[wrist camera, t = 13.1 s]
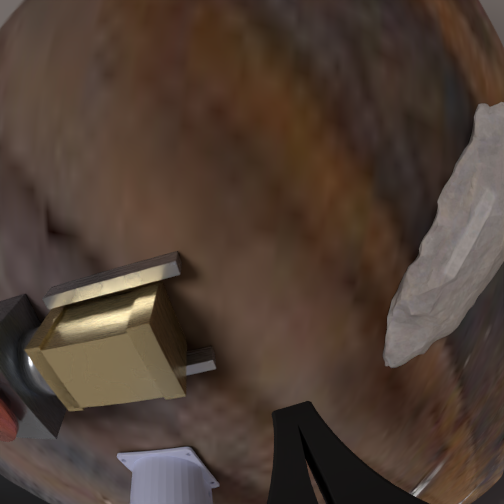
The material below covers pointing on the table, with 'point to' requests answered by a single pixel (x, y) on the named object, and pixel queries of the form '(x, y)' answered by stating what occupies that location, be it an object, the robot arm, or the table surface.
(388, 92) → the table surface
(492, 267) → the stone tool
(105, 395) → the gold flanged block
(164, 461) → the robot arm
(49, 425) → the valve
